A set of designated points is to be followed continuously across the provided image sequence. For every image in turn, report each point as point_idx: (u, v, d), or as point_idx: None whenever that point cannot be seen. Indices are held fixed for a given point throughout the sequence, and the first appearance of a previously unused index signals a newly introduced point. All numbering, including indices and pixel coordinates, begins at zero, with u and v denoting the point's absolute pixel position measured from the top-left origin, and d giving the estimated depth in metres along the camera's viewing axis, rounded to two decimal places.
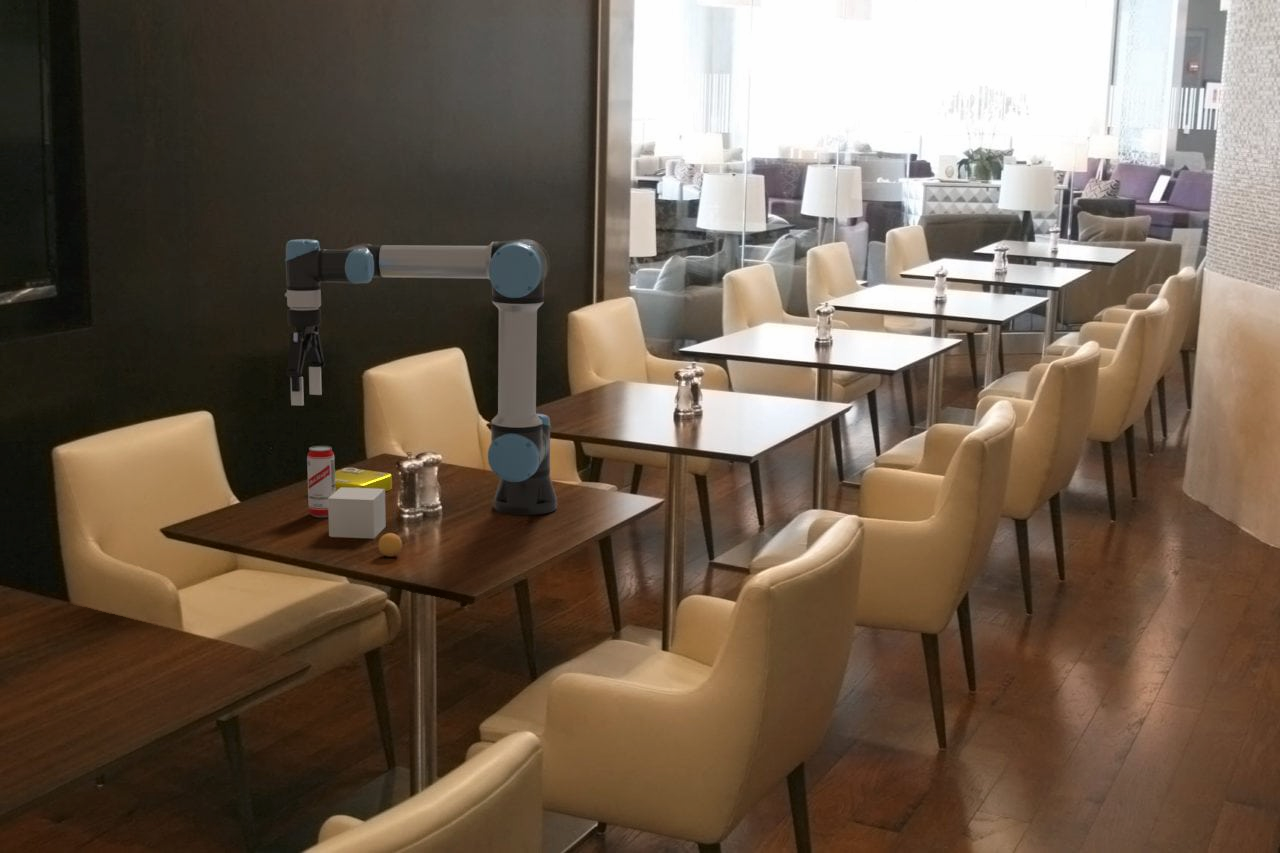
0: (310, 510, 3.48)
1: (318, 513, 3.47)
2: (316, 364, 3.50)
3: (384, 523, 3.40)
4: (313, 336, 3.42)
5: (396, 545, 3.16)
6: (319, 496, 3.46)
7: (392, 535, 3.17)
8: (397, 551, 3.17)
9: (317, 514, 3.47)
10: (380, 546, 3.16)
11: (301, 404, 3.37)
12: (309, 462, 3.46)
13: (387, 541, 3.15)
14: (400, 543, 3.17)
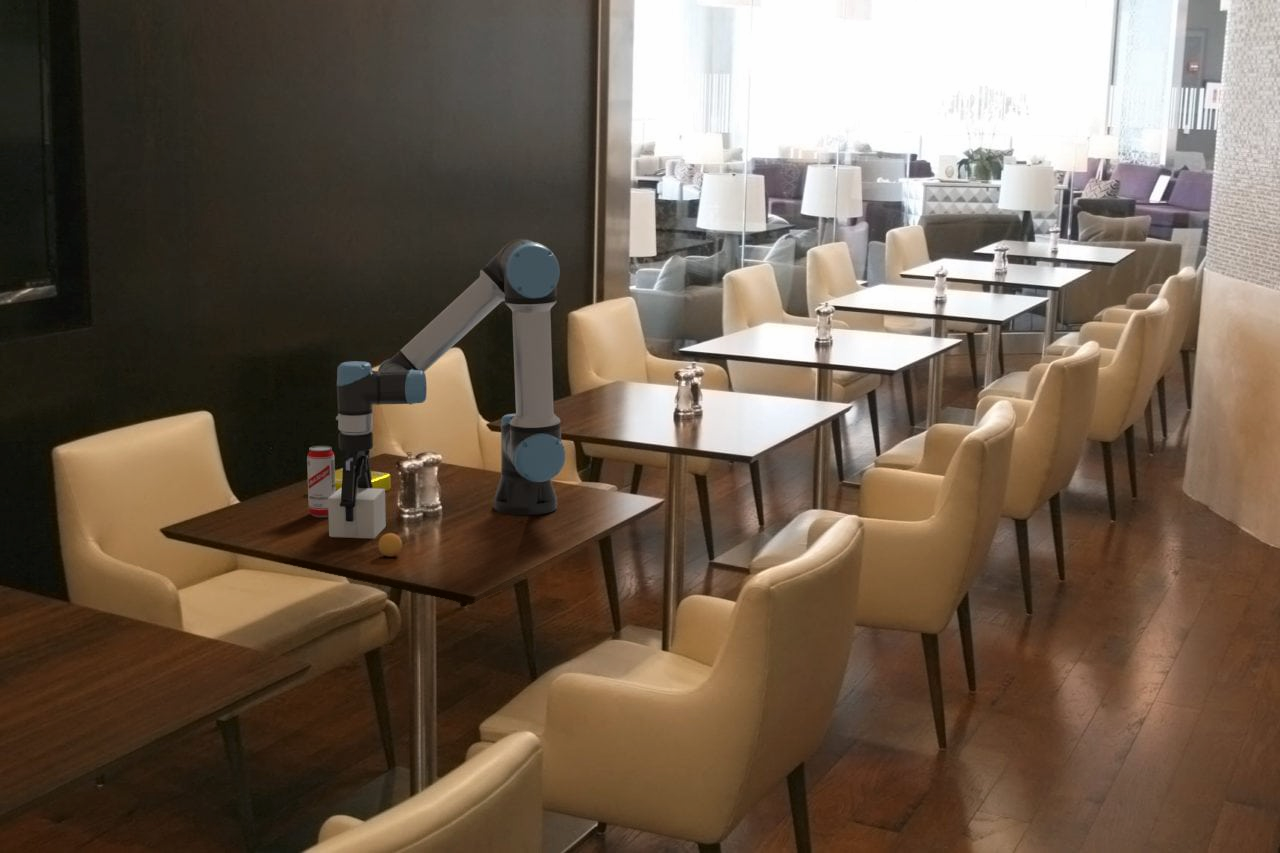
0: (310, 510, 3.48)
1: (318, 513, 3.47)
2: None
3: (384, 523, 3.40)
4: (364, 459, 3.34)
5: (396, 545, 3.16)
6: (319, 496, 3.46)
7: (392, 535, 3.17)
8: (397, 551, 3.17)
9: (317, 514, 3.47)
10: (380, 546, 3.16)
11: (355, 533, 3.31)
12: (309, 462, 3.46)
13: (387, 541, 3.15)
14: (400, 543, 3.17)
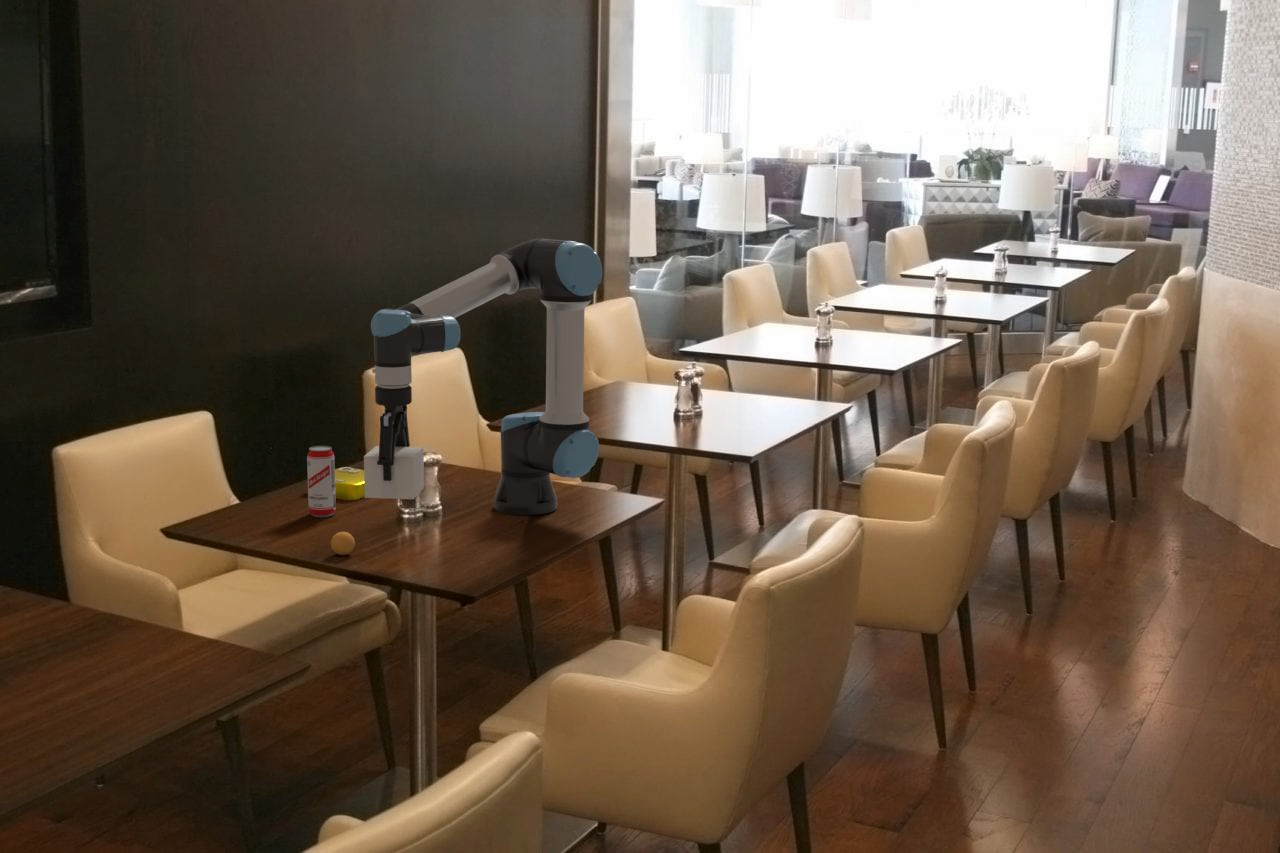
0: (310, 510, 3.48)
1: (318, 513, 3.47)
2: None
3: (422, 484, 3.19)
4: (402, 415, 3.13)
5: (337, 552, 3.17)
6: (319, 496, 3.46)
7: (348, 553, 3.18)
8: (332, 547, 3.17)
9: (317, 514, 3.47)
10: (346, 540, 3.16)
11: (393, 494, 3.09)
12: (309, 462, 3.46)
13: (345, 550, 3.16)
14: None
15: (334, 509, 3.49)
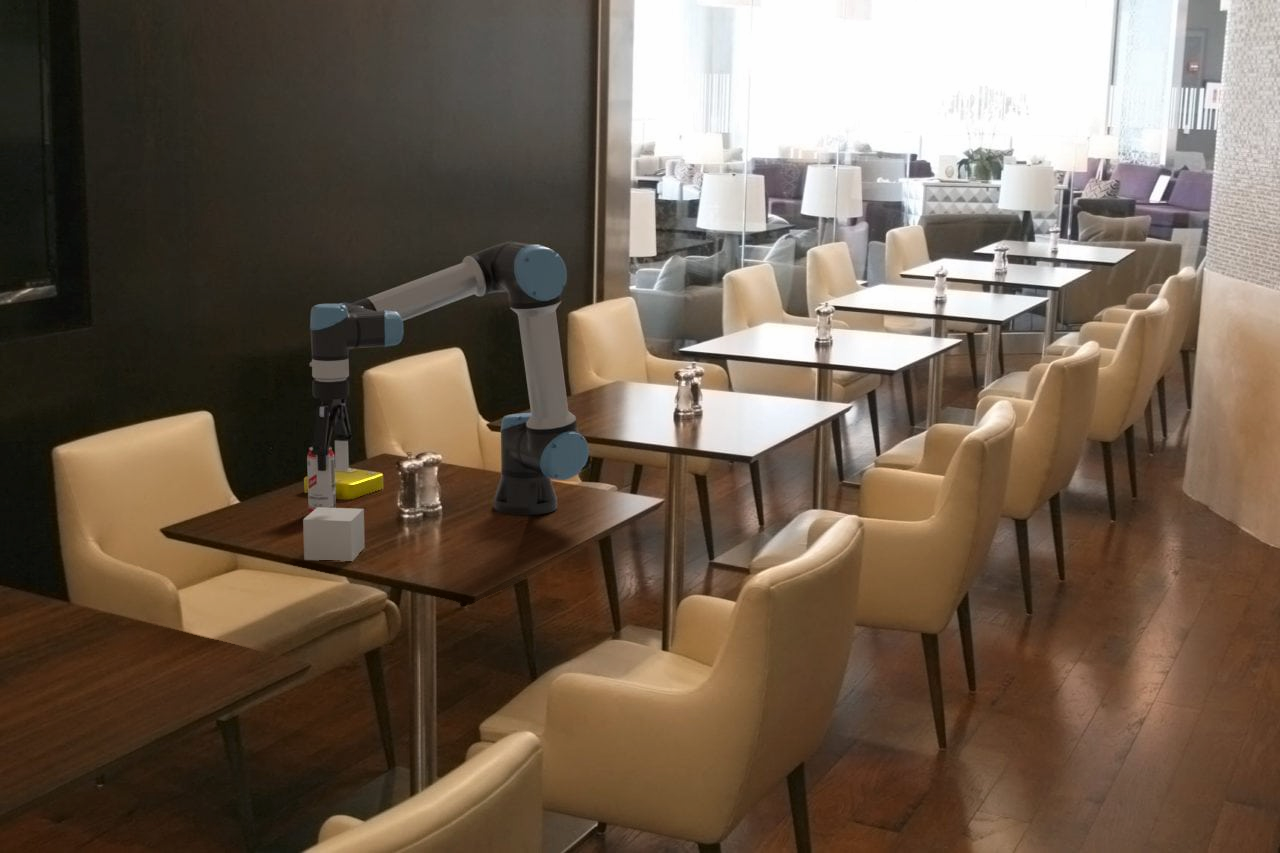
0: (310, 510, 3.48)
1: None
2: (343, 437, 3.21)
3: (363, 545, 3.23)
4: (340, 409, 3.14)
5: None
6: (319, 496, 3.46)
7: None
8: None
9: None
10: None
11: (328, 484, 3.09)
12: (309, 462, 3.46)
13: None
14: None
15: None
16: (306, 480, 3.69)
